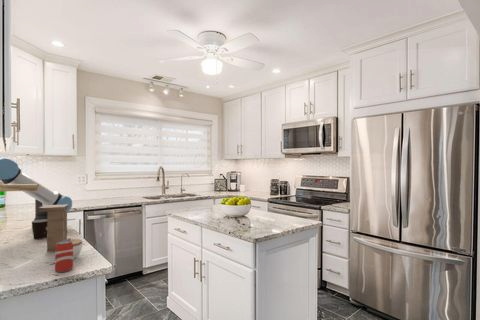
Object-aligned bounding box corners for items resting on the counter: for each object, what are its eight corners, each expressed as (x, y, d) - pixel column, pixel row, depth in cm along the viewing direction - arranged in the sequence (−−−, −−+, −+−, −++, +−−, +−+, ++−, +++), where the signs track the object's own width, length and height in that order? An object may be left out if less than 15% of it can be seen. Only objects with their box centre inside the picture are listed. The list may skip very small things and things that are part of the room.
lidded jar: (82, 259, 131) (82, 239, 131) (54, 263, 126) (54, 242, 126) (81, 253, 141) (82, 234, 141) (56, 256, 135) (56, 237, 135)
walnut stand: (44, 247, 149) (45, 205, 149) (68, 246, 152) (68, 204, 152) (38, 253, 140) (38, 207, 140) (63, 251, 144) (64, 207, 144)
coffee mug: (39, 240, 163) (40, 222, 163) (27, 239, 165) (27, 222, 165) (56, 234, 174) (57, 218, 174) (45, 234, 176) (45, 218, 176)
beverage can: (69, 266, 123) (69, 239, 123) (74, 270, 119) (75, 241, 119) (53, 270, 119) (53, 241, 119) (58, 274, 114) (58, 245, 114)
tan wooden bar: (-19, 191, 139) (-19, 184, 139) (38, 189, 146) (38, 183, 146) (-23, 192, 135) (-23, 185, 135) (35, 190, 142) (35, 184, 142)
